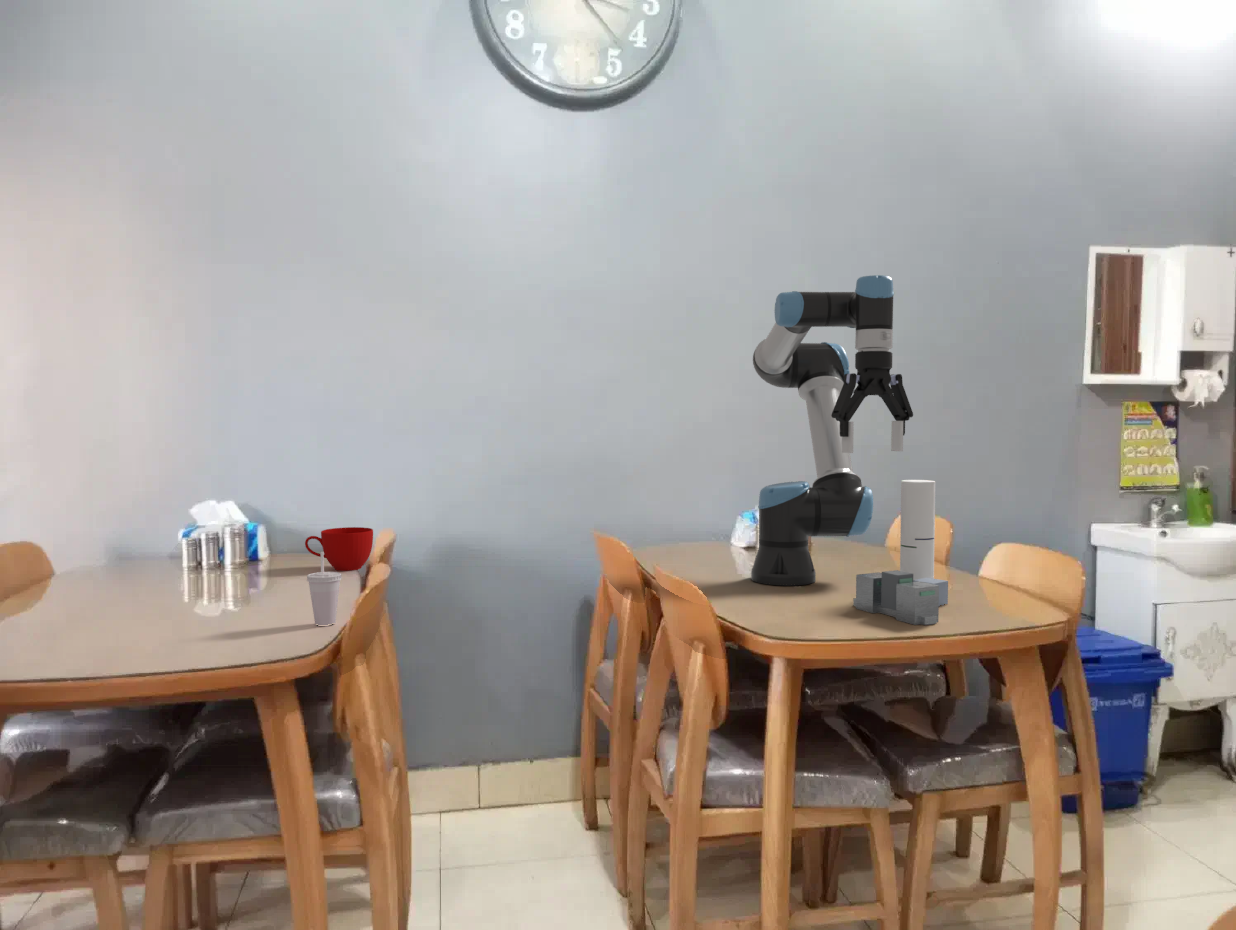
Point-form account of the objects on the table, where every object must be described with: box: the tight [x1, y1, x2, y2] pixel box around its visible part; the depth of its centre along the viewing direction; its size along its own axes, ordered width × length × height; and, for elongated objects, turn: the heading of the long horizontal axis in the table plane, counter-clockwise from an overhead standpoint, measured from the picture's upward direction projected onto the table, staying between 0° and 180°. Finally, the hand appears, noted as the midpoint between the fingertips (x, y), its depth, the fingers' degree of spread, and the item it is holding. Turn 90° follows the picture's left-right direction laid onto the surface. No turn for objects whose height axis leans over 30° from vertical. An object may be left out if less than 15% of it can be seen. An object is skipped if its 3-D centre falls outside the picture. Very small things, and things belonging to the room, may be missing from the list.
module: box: [881, 569, 913, 610], centre depth 185 cm, size 5×4×7 cm
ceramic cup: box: [304, 526, 374, 572], centre depth 241 cm, size 13×17×10 cm
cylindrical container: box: [899, 479, 936, 580], centre depth 205 cm, size 7×7×25 cm
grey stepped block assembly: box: [852, 571, 940, 626], centre depth 186 cm, size 20×6×7 cm, turn 27°
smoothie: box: [306, 551, 342, 625], centre depth 179 cm, size 6×6×14 cm
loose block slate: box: [913, 578, 949, 607], centre depth 196 cm, size 5×5×5 cm
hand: (872, 452), depth 197 cm, fingers open, 13 cm apart
